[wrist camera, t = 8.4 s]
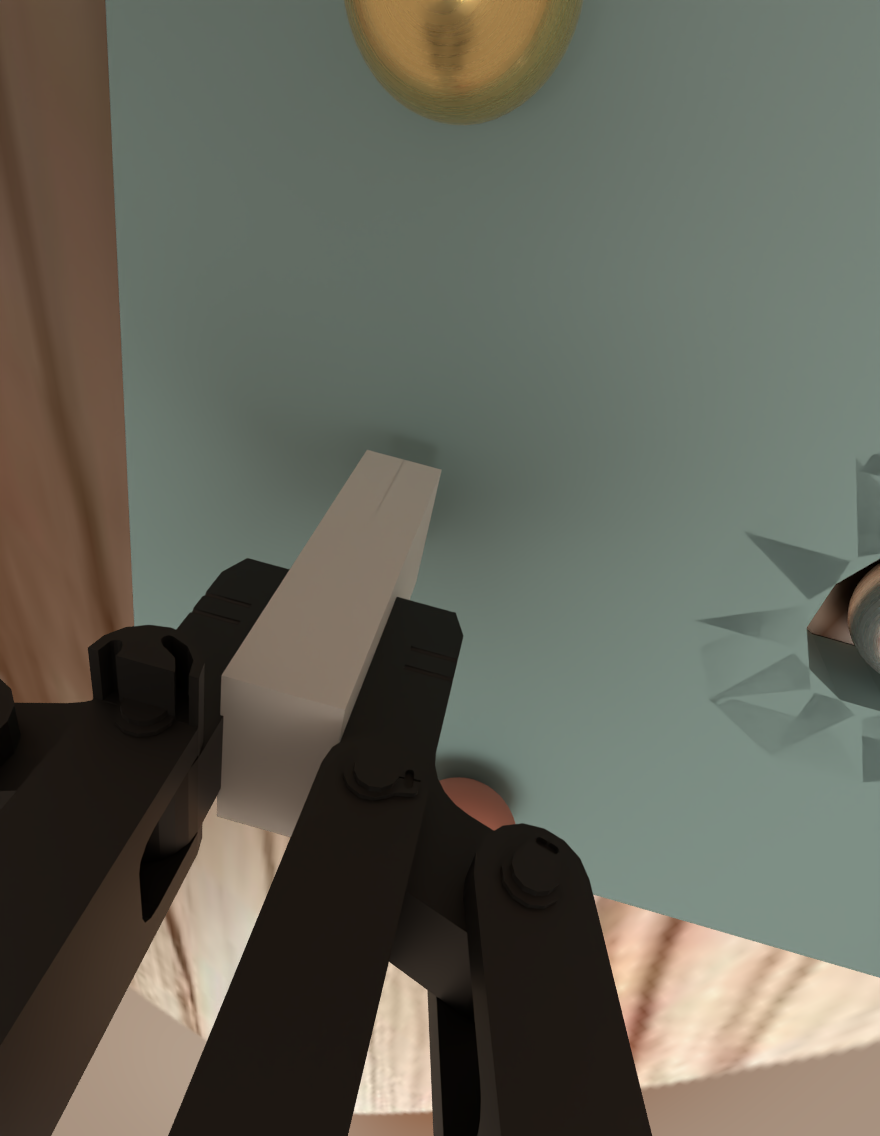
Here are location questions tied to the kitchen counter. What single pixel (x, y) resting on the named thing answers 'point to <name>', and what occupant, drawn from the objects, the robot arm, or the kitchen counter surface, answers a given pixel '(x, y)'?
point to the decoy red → (478, 801)
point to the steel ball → (866, 617)
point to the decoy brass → (462, 52)
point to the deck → (547, 406)
